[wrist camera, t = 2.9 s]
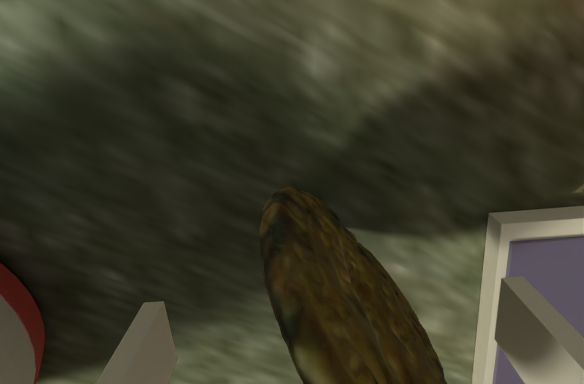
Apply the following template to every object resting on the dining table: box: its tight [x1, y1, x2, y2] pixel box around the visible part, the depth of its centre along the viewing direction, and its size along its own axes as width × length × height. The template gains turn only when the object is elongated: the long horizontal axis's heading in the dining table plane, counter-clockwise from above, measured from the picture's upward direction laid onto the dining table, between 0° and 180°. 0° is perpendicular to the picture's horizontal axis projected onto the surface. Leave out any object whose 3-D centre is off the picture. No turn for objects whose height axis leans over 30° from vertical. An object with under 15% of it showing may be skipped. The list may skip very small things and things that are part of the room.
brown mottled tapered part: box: [259, 187, 447, 384], centre depth 14 cm, size 9×5×15 cm, turn 49°
